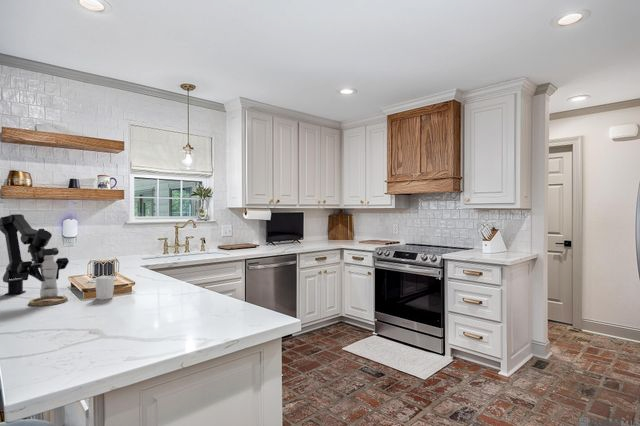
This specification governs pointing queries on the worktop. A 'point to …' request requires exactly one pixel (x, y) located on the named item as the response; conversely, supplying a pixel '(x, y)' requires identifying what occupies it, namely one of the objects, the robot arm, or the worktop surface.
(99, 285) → the white cup
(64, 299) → the brown round plate
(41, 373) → the worktop surface
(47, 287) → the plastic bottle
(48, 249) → the robot arm
